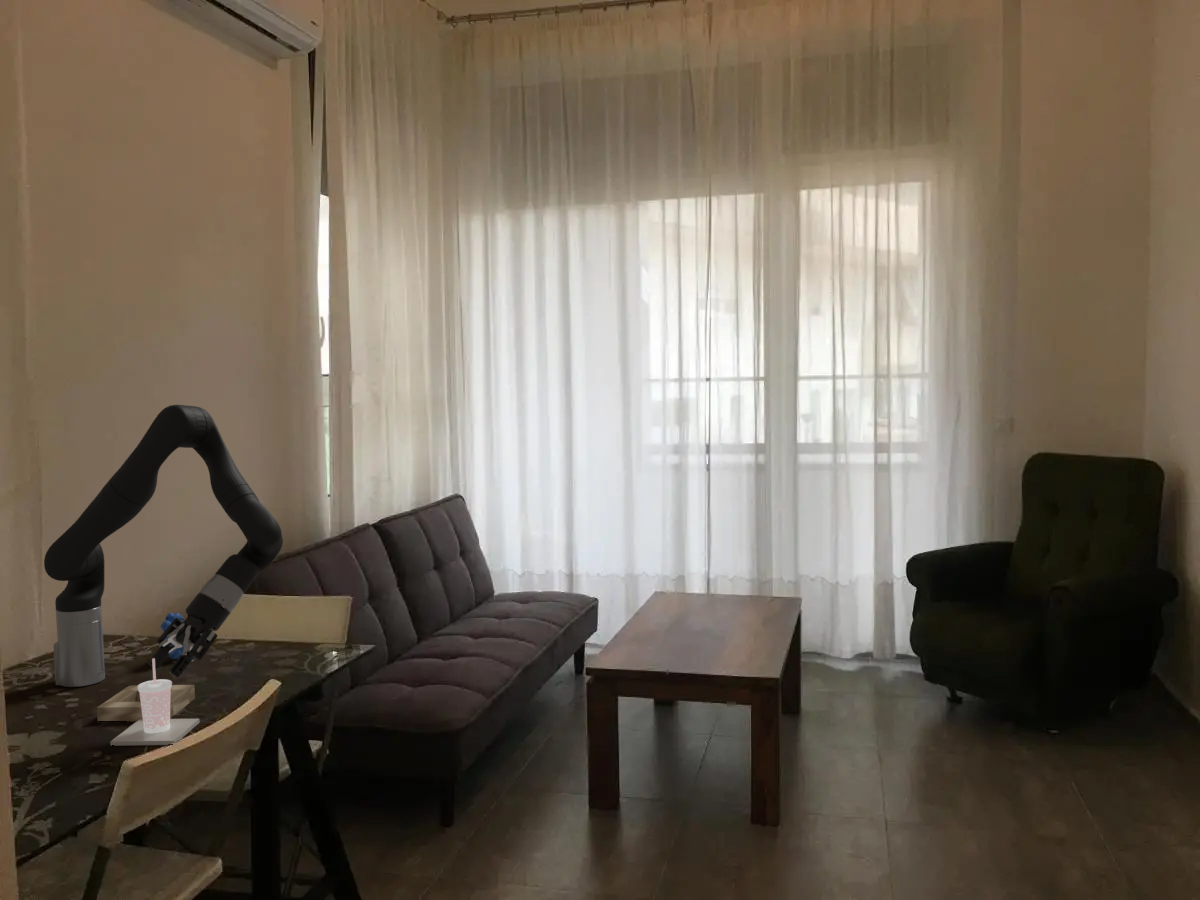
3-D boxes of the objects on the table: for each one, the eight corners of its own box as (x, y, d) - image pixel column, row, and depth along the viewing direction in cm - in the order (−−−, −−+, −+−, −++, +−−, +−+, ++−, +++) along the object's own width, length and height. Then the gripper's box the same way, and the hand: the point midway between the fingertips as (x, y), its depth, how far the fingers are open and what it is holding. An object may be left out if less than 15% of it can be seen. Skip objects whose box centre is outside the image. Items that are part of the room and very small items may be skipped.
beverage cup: (132, 732, 191) (128, 661, 190) (156, 721, 197) (153, 653, 196) (157, 736, 189) (153, 664, 188) (181, 725, 195) (177, 655, 194)
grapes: (182, 666, 238) (180, 617, 237) (154, 666, 238) (152, 617, 237) (202, 652, 249) (200, 605, 249) (176, 652, 250) (174, 605, 249)
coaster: (110, 745, 187) (110, 741, 187) (139, 723, 199) (139, 719, 199) (174, 744, 187) (173, 740, 187) (199, 722, 199) (199, 718, 199)
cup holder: (97, 721, 200) (96, 707, 200) (130, 699, 214) (129, 685, 214) (166, 721, 200) (166, 706, 200) (194, 698, 214) (194, 684, 214)
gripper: (184, 586, 204) (131, 654, 196) (220, 596, 194) (166, 667, 187) (210, 607, 208) (158, 673, 200) (246, 617, 199) (194, 687, 191)
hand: (162, 670), depth 193 cm, fingers open, 8 cm apart
